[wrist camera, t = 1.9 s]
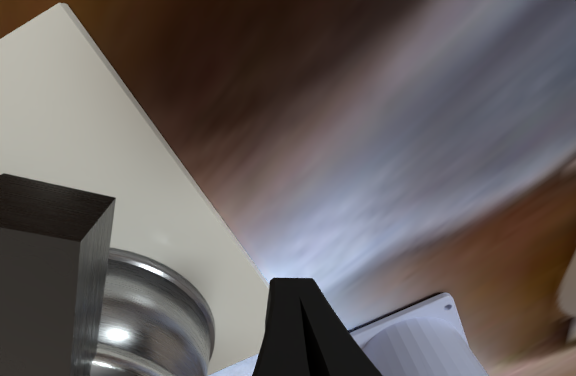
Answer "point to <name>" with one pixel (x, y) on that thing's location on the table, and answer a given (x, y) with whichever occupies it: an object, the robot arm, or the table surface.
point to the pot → (156, 314)
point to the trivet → (122, 170)
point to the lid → (56, 283)
